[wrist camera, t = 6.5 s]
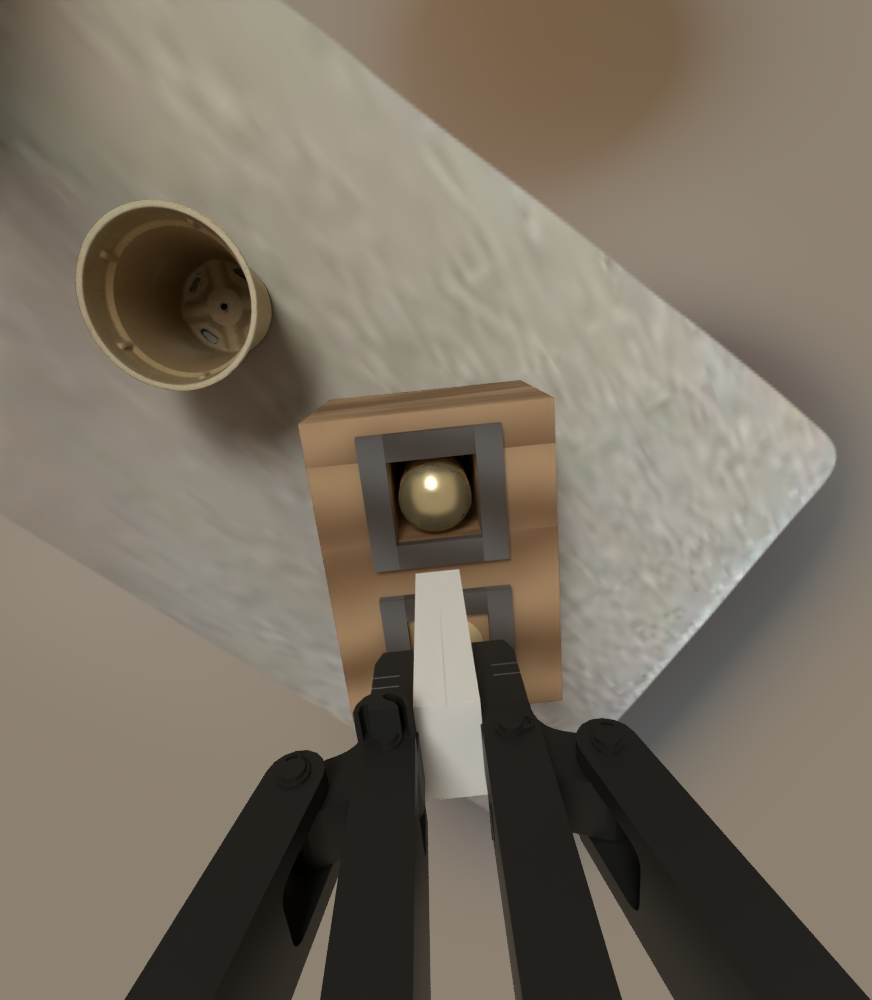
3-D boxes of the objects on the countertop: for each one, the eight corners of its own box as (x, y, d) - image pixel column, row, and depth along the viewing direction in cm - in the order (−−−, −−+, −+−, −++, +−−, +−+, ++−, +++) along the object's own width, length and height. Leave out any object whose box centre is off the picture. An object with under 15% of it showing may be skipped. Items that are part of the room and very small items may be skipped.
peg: (399, 437, 37) (393, 467, 29) (458, 431, 37) (468, 459, 29) (406, 493, 38) (403, 536, 30) (463, 487, 38) (474, 528, 30)
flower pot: (151, 360, 36) (73, 370, 28) (159, 214, 33) (74, 177, 25) (285, 389, 37) (247, 407, 29) (303, 249, 34) (267, 225, 26)
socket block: (329, 400, 38) (295, 426, 27) (520, 380, 37) (556, 399, 27) (367, 636, 44) (351, 727, 34) (531, 619, 44) (564, 706, 34)
